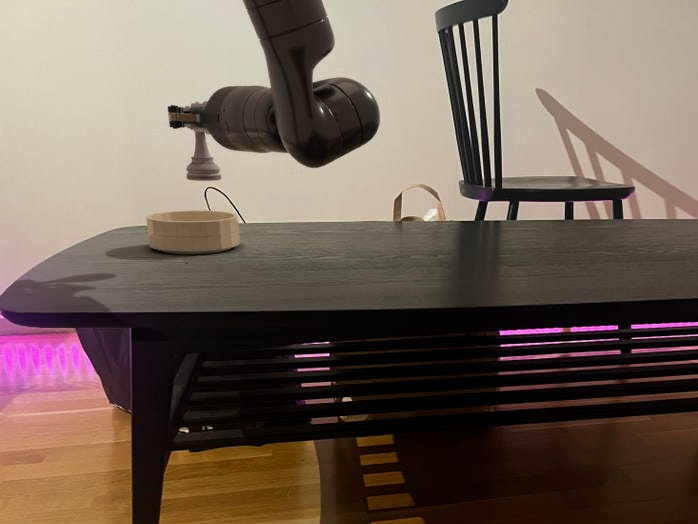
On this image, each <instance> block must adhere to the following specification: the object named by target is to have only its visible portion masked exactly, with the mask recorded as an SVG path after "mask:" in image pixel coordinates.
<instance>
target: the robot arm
mask: <svg viewBox="0 0 698 524" xmlns="http://www.w3.org/2000/svg"><path fill="white" fill-rule="evenodd" d="M242 2H243V3H242V4H243V6H244V8H245V10H246V13H247V15H248V18H249V20H250V22H251V25H252V27H253V30H254V32H255V34H256V36H257V39H259V44H260V46H261V49H262V51H263V54H264V58H265V63H266V68H267V75H268V80H269V83H270V84H269V85H270V87H268V86H264V85H229V86H223V87H221V88H219V89H217V90H216V91H215V92H214V93H212V94H211V95H210V97H209V99H208V100H207V101H206V100H204V101H203V102H202V103H200V102H199V103H195V102H193V103H191V104H190V106H189V105H185V106H178V105H175V104H170V105H168V106H167V115H168V124H169V128H172V129H173V130H178V129H183V128H187V129H190V128H191V127H192V128H193V130H192V131H193V132H194V133H195V132H205V135H210V136H211V137H212V139H213V140H214V141H215V142H216V143H217V144H218V145H220V146H221V147H222V148H225V149H226V150H230V151H235V152H245V153H256V154H269V153H278V154H289V155H290V156H291V158H292V159H294V161H296V162H297V163H298V164H300V165H302V166H304V167H306V168H309V169H320V168H322V167H325V166H327V165H329V164H331V163H333V162H334V161H337V160H338V159H340V158H342V157H344V156H346V155H348V154H350V153H352V152H354V151H355V150H357V149H360V148H361V147H363V146H365V145H367V144H368V143H369V142H370V141H372V140H373V139H374V137H375V136H376V134H377V132H378V130H379V127H380V123H381V112H380V106H379V104H378V101H377V99H376V97H375V96H374V95H373V93H372V92H371V91H370V90H369V89H368V87H366V86H365V85H363V83H361V82H359V81H357V80H355V79H352V78H349V77H345V76H344V77H343V76H342V77H341V76H340V77H339V76H338V77H329V78H325V79H320V80H315V81H313V78H314V71H315V69H316V67H317V65H319V63H320V62H322V60H324V59H325V58H326V57H327V56H329V55H330V54H331V53H332V51H333V50H334V48H335V44H336V39H335V35H334V31H333V28H332V25H331V22H330V19H329V17H328V14H327V12H326V11H327V10H326V8H325V6H324V2H323V0H242Z"/></svg>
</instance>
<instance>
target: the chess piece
mask: <svg viewBox="0 0 698 524" xmlns="http://www.w3.org/2000/svg"><path fill="white" fill-rule="evenodd" d="M194 103H200V102H199V101H195V102H194ZM189 130H191V131H194V130H193V128H192V127H191V128H189ZM194 138H195V139H194V140H195V142H194V143H195V144H194V151H193V156H191V157H190V159H191V162H189V164H188V165H187V166H186V168H185V169H186V171H187V173H186V179H187V180H188V181H196V182H197V181H198V182H209V181H210V182H212V181H213V182H214V181H221V180H222V174H221V173H220V172H221V168H220V165H218V164H216V163H215V162H214V157H213V156H211V153H210V150H209V147H208V143H207V138H206V133H205V132H195V131H194Z"/></svg>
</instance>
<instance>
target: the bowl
mask: <svg viewBox="0 0 698 524" xmlns="http://www.w3.org/2000/svg"><path fill="white" fill-rule="evenodd" d="M239 222H240V221H239V215H238V214H237V213H233V212H229V211H219V210H197V209H195V210H170V211H163V212H161V211H160V212H155V213H151V214H147V215H146V216H145V223H146V230H147V232H146V233H147V240H148V246H149V248H151V249H154V250H157V251H160V252H163V253H167V254H176V255H204V254H205V255H206V254H214V253H220V252H221V253H222V252H225V251H229V250H231V249H232V248H235V247H238V246H240V244H241V235H240V234H241V233H240V223H239Z"/></svg>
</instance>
